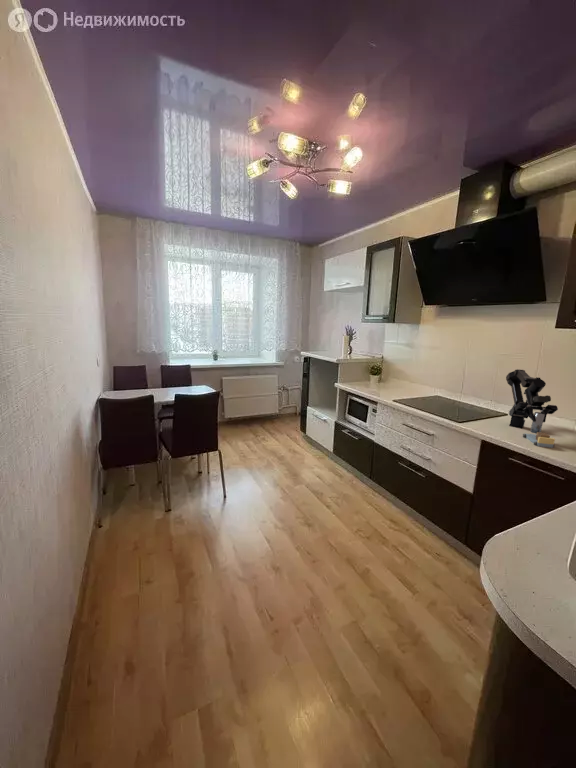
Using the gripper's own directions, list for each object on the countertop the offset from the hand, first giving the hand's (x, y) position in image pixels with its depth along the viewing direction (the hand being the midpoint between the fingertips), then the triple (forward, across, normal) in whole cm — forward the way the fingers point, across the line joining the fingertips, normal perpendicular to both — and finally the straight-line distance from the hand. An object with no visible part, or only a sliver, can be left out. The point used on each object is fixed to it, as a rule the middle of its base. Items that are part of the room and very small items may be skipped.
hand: (539, 421), depth 170 cm
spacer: (+4, 0, +6) cm, 7 cm away
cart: (+9, 0, +6) cm, 11 cm away
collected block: (+10, 0, +2) cm, 10 cm away
